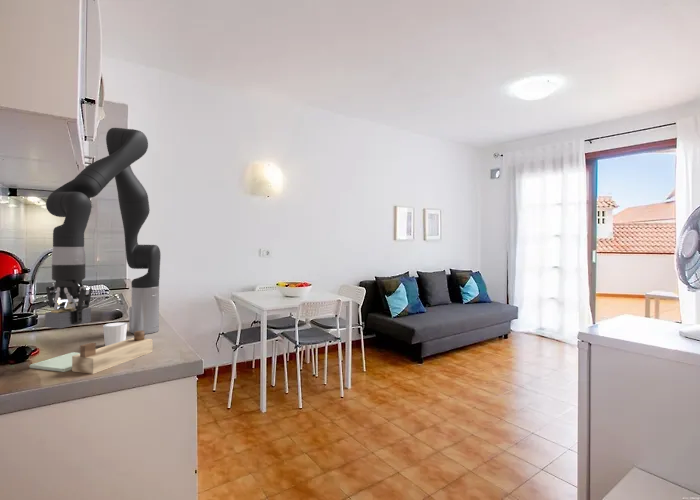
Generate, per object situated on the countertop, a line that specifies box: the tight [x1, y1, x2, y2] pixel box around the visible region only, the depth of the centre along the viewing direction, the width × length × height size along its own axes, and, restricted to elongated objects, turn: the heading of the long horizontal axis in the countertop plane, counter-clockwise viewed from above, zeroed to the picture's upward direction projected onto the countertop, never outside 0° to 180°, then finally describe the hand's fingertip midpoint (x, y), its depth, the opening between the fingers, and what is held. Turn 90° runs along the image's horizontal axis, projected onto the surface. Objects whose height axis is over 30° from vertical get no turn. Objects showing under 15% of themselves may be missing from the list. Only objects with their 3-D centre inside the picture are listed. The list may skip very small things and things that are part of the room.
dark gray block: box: [44, 306, 92, 329], centre depth 103 cm, size 5×9×5 cm, turn 166°
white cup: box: [102, 321, 128, 347], centre depth 122 cm, size 7×7×7 cm
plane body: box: [71, 331, 154, 375], centre depth 106 cm, size 7×20×7 cm, turn 166°
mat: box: [29, 351, 80, 373], centre depth 104 cm, size 12×12×1 cm
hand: (69, 323), depth 103 cm, fingers closed on dark gray block, 5 cm apart
